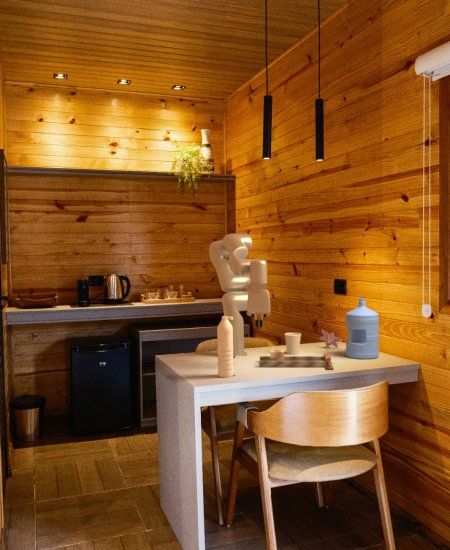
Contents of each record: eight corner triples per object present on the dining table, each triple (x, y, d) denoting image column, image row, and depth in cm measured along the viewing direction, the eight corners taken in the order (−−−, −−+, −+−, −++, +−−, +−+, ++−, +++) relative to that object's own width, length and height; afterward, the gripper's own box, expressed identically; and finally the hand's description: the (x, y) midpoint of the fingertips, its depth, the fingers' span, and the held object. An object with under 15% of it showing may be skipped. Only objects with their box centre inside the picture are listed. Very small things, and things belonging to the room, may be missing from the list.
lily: (344, 352, 289) (346, 334, 293) (326, 344, 285) (329, 327, 289) (329, 355, 299) (331, 338, 303) (312, 348, 295) (314, 331, 299)
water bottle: (215, 375, 235) (214, 315, 234) (228, 373, 238) (227, 314, 237) (225, 379, 227) (224, 318, 226) (239, 377, 231) (238, 316, 229)
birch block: (270, 365, 248) (270, 352, 248) (270, 362, 254) (270, 349, 254) (284, 365, 248) (284, 352, 247) (284, 362, 254) (283, 349, 253)
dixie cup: (303, 352, 283) (303, 333, 282) (298, 355, 275) (297, 335, 275) (288, 351, 287) (287, 332, 286) (282, 354, 279) (281, 334, 279)
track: (259, 369, 245) (259, 358, 244) (259, 363, 259) (259, 352, 258) (333, 369, 242) (333, 358, 242) (330, 363, 256) (330, 352, 256)
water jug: (367, 352, 281) (367, 296, 280) (385, 358, 266) (385, 299, 265) (339, 354, 276) (339, 298, 275) (356, 360, 261) (356, 300, 260)
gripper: (241, 288, 247) (241, 329, 248) (275, 287, 246) (276, 329, 246) (242, 287, 254) (242, 327, 255) (275, 286, 253) (276, 327, 254)
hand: (259, 328), depth 251 cm, fingers closed
